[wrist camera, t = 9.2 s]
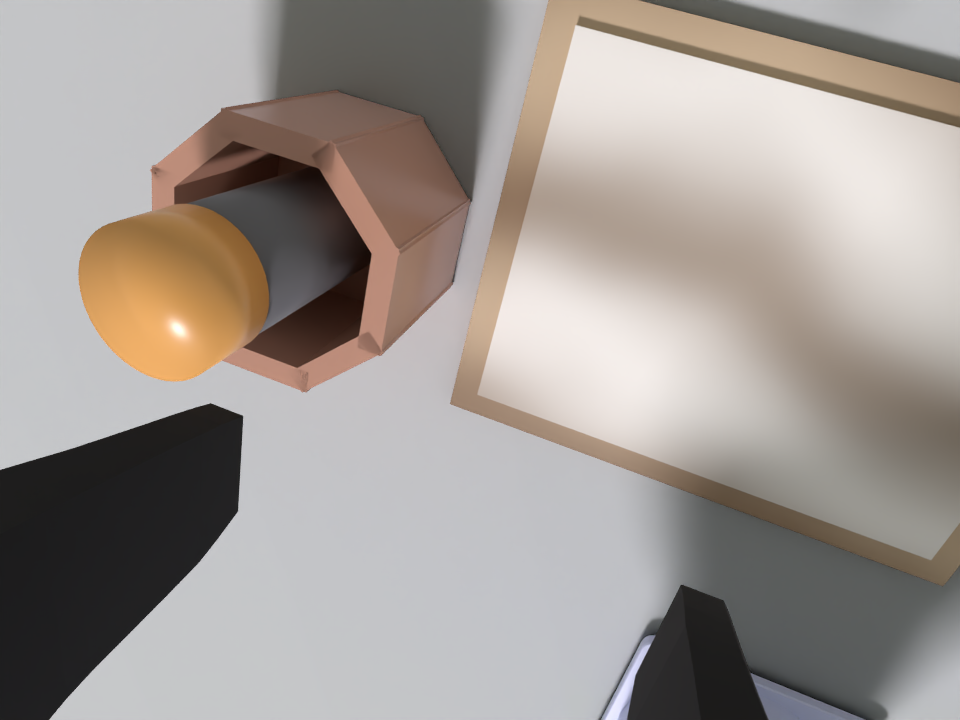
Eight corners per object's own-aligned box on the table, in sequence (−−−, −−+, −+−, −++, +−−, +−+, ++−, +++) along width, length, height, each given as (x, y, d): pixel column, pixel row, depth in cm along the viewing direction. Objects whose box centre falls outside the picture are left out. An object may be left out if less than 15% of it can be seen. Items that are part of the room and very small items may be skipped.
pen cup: (440, 339, 21) (371, 418, 17) (261, 275, 22) (152, 335, 18) (486, 134, 18) (416, 167, 14) (276, 71, 19) (148, 82, 15)
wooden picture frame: (939, 576, 19) (945, 591, 19) (454, 398, 22) (447, 406, 21) (1266, 162, 14) (1288, 167, 13) (557, -21, 16) (552, -23, 15)
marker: (392, 278, 20) (218, 403, 13) (298, 246, 20) (83, 350, 14) (409, 174, 18) (224, 251, 12) (308, 142, 19) (73, 199, 12)
